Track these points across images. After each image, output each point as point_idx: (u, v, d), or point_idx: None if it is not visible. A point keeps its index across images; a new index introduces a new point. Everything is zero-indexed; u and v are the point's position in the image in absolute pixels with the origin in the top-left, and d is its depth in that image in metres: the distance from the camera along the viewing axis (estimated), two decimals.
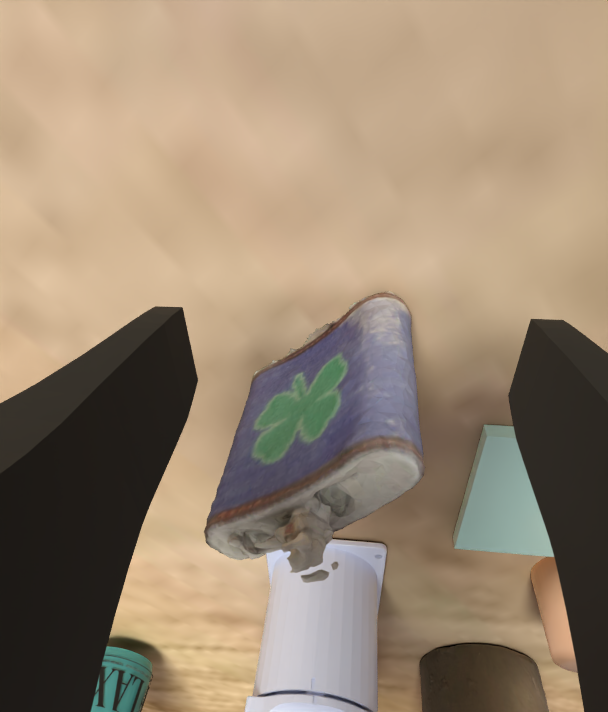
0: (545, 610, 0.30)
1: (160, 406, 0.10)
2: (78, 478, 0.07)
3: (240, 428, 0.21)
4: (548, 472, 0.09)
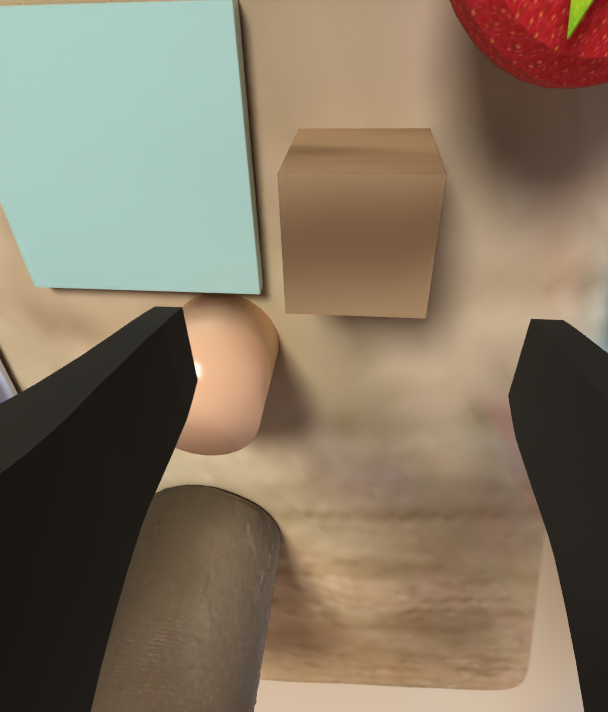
0: None
1: (160, 406, 0.10)
2: (78, 478, 0.07)
3: None
4: (547, 472, 0.09)
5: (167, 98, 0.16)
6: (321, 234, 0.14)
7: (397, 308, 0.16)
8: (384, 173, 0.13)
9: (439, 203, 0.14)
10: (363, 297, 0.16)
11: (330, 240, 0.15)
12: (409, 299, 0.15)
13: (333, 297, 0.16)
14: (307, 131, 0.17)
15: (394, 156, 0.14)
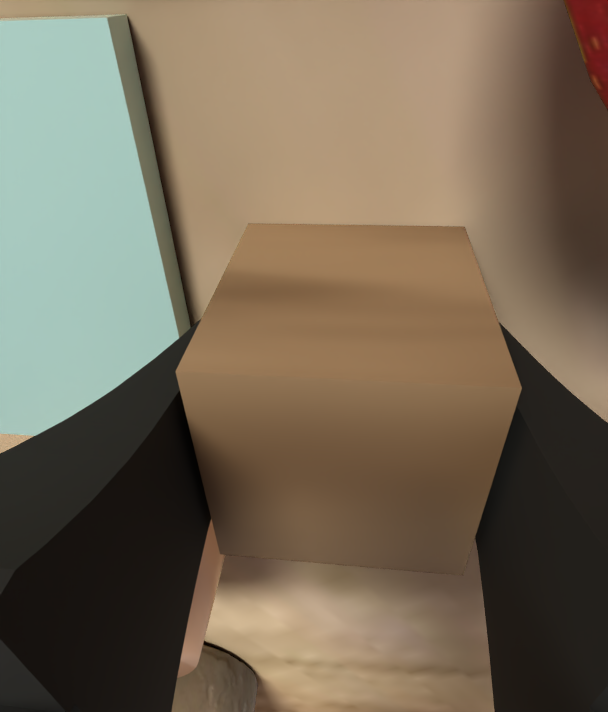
0: None
1: None
2: (163, 484, 0.07)
3: None
4: None
5: (21, 181, 0.10)
6: (272, 462, 0.08)
7: (414, 561, 0.09)
8: (391, 376, 0.06)
9: (502, 431, 0.07)
10: (353, 544, 0.09)
11: (289, 470, 0.08)
12: (435, 551, 0.09)
13: (300, 541, 0.09)
14: (260, 232, 0.10)
15: (409, 314, 0.08)
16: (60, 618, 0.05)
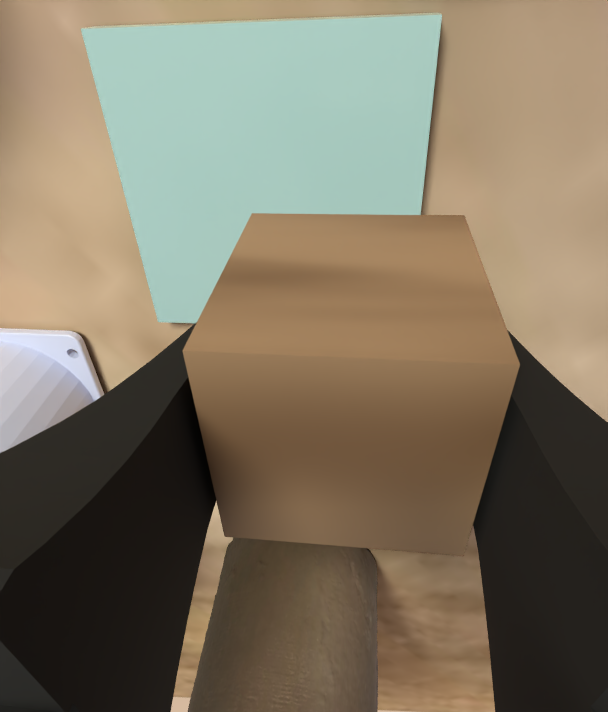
0: None
1: None
2: (162, 484, 0.07)
3: None
4: None
5: (344, 123, 0.15)
6: (277, 441, 0.08)
7: (415, 542, 0.09)
8: (393, 354, 0.07)
9: (501, 408, 0.07)
10: (355, 525, 0.09)
11: (293, 451, 0.08)
12: (436, 531, 0.09)
13: (304, 521, 0.09)
14: (264, 221, 0.10)
15: (410, 297, 0.08)
16: (58, 618, 0.05)
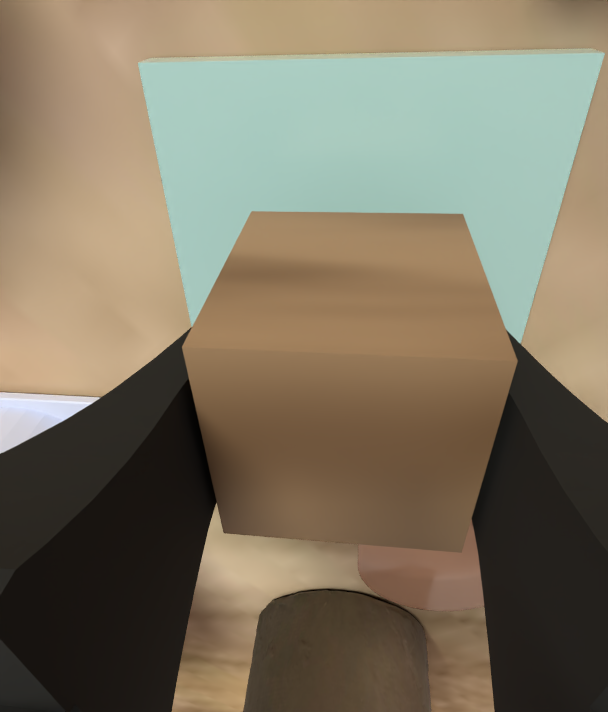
0: None
1: None
2: (164, 484, 0.07)
3: None
4: None
5: (459, 180, 0.12)
6: (275, 438, 0.08)
7: (414, 539, 0.09)
8: (391, 350, 0.07)
9: (499, 405, 0.07)
10: (353, 522, 0.09)
11: (292, 448, 0.08)
12: (434, 528, 0.09)
13: (302, 518, 0.09)
14: (263, 219, 0.10)
15: (408, 294, 0.08)
16: (60, 618, 0.05)
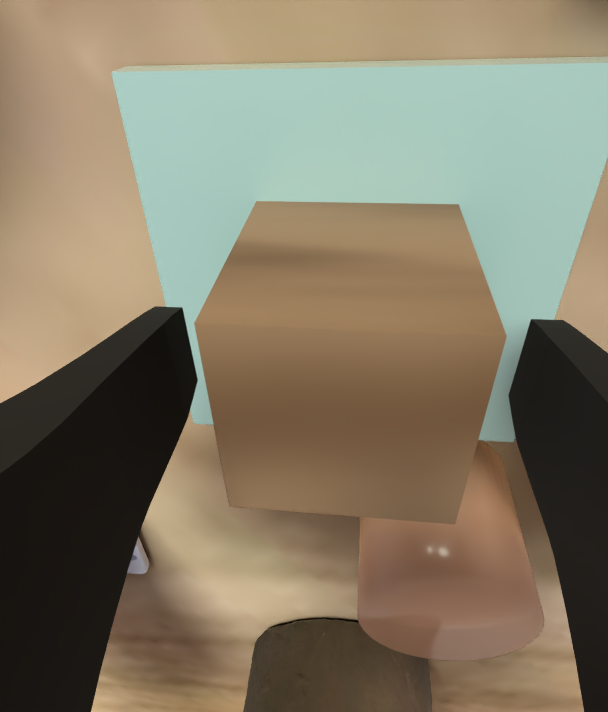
0: (360, 537, 0.16)
1: (160, 406, 0.10)
2: (78, 478, 0.07)
3: None
4: (548, 472, 0.09)
5: (471, 202, 0.11)
6: (280, 411, 0.08)
7: (410, 510, 0.10)
8: (389, 326, 0.07)
9: (489, 378, 0.07)
10: (353, 494, 0.09)
11: (295, 420, 0.08)
12: (429, 500, 0.09)
13: (304, 491, 0.10)
14: (268, 208, 0.11)
15: (406, 276, 0.08)
16: None
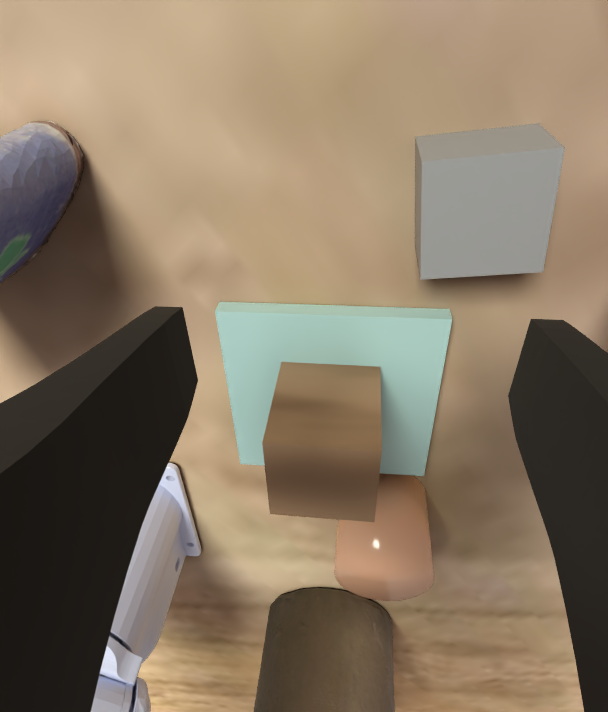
0: (337, 530, 0.27)
1: (160, 406, 0.10)
2: (78, 478, 0.07)
3: None
4: (547, 471, 0.09)
5: (386, 366, 0.22)
6: (295, 474, 0.20)
7: (353, 516, 0.21)
8: (338, 445, 0.19)
9: (378, 464, 0.19)
10: (327, 508, 0.21)
11: (301, 478, 0.20)
12: (361, 511, 0.21)
13: (305, 507, 0.21)
14: (287, 367, 0.22)
15: (348, 417, 0.20)
16: None
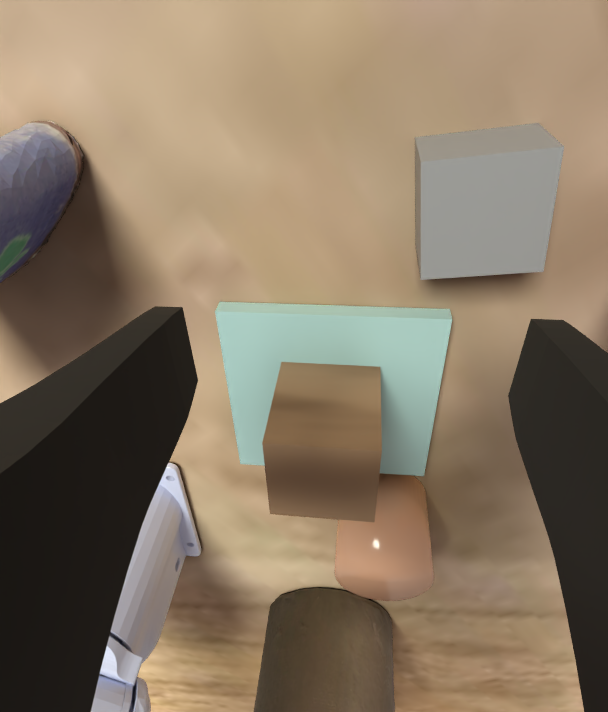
0: (337, 530, 0.27)
1: (160, 406, 0.10)
2: (78, 478, 0.07)
3: None
4: (547, 471, 0.09)
5: (386, 366, 0.22)
6: (295, 474, 0.20)
7: (353, 516, 0.21)
8: (338, 446, 0.19)
9: (378, 464, 0.19)
10: (327, 508, 0.21)
11: (301, 478, 0.20)
12: (361, 511, 0.21)
13: (305, 507, 0.21)
14: (287, 367, 0.22)
15: (348, 417, 0.20)
16: None
